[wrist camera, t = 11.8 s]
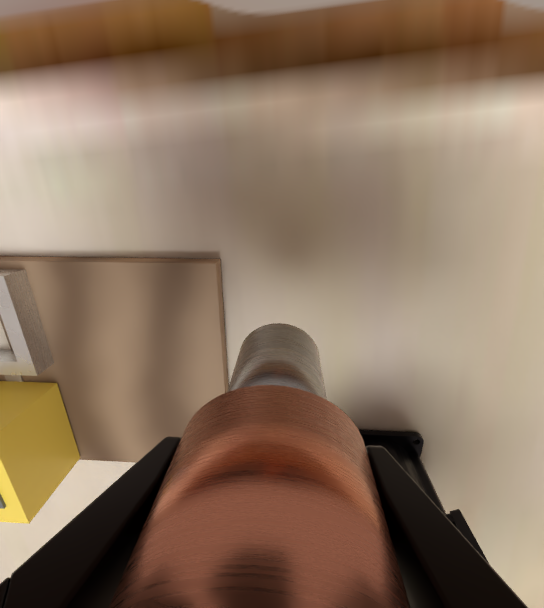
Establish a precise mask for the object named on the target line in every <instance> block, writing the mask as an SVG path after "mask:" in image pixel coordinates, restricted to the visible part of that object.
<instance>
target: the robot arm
mask: <svg viewBox="0 0 544 608" xmlns="http://www.w3.org/2000/svg"><path fill="white" fill-rule="evenodd" d="M359 432H360V434H361V436H362V438H363V441H364V444H365V448H366V451H367V455H368V458H369V462H370V465H371V469H372V472H373V476H374V479H375V483H376V487H377V490H378V494H379V497H380V501H381V504H382V508H383V511H384V515H385V519H386V522H387V526H388V529H389V533H390V536H391V540H392V543H393V547H394V550H395V554H396V558H397V561H398V565H399V568H400V572H401V575H402V579H403V582H404V586H405V590H406V593H407V597H408V600H409V604H410V607H411V608H528V607H527V606H526V605H525V604H524V603H523V602H522V601H521V599H520V598H519V597H518V596H517V595H516V594H515V593H514V592H513V590H512V589H511V588H510V587H509V586H508V585H507V584H506V583H505V582H504V580H503V579H502V578H501V577H500V576H499V575H498V574H497V573H496V572H495V570H494V569H493V568H492V567H491V566H490V565H489V563H488V561H487V559H486V557H485V555H484V554H483V552H482V550H481V548H480V546H479V544H478V543H477V541H476V539H475V537H474V535H473V534H472V532H471V530H470V528H469V526H468V524H467V523H466V521H465V519H464V517H463V515H462V513H461V512H460V510H459V509H457V510H453V511H450V513H449V514H446V513H445V510H444V508H443V506H442V504H441V502H440V500H439V498H438V495H437V493H436V491H435V489H434V487H433V485H432V483H431V481H430V478H429V476H428V474H427V472H426V470H425V468H424V466H423V463H422V461H421V459H420V455H421V451H422V447H423V443H424V440H423V438H422V436H421V435H420V434H419V433H414V432H391V431H368V430H359ZM181 438H182V437H171V436H168V437H166V438H164V439H163V440H162V441H161V442H159V443H158V444H157V445H156V446H155V447H154V448H153V449H152V450H150V451H149V452H148V453H147V454H146V455H145V456H144V457H143V458H141V459H140V460H139V461H138V462H137V463H136V464H135V465H134V466H132V467H131V468H130V469H129V470H128V471H127V472H126V473H125V474H123V475H122V476H121V477H120V478H119V479H118V480H117V481H116V482H114V483H113V484H112V485H111V486H110V487H109V488H108V489H107V490H105V491H104V492H103V493H102V494H101V495H100V496H99V497H98V498H96V499H95V500H94V501H93V502H92V503H91V504H90V505H89V506H87V507H86V508H85V509H84V510H83V511H82V512H81V513H80V514H78V515H77V516H76V517H75V518H74V519H73V520H72V521H71V522H69V523H68V524H67V525H66V526H65V527H64V528H63V529H62V530H60V531H59V532H58V533H57V534H56V535H55V536H54V537H53V538H51V539H50V540H49V541H48V542H47V543H46V544H45V545H44V546H42V547H41V548H40V549H39V550H38V551H37V552H36V553H35V554H33V555H32V556H31V557H30V558H29V559H28V560H27V561H26V562H24V563H23V564H22V565H21V566H20V567H19V568H18V569H17V570H15V571H14V572H13V573H12V575H11V578H6V579H5V580H4V581H3V582H2V583H1V584H0V608H109V605H110V603H111V601H112V598H113V596H114V594H115V591H116V589H117V587H118V584H119V582H120V580H121V578H122V575H123V573H124V571H125V568H126V566H127V564H128V561H129V559H130V557H131V554H132V552H133V550H134V547H135V545H136V543H137V540H138V538H139V536H140V533H141V531H142V529H143V526H144V524H145V522H146V519H147V517H148V515H149V512H150V510H151V508H152V505H153V503H154V501H155V498H156V496H157V494H158V491H159V489H160V487H161V484H162V482H163V480H164V477H165V475H166V473H167V470H168V468H169V466H170V463H171V461H172V459H173V456H174V454H175V452H176V449H177V447H178V445H179V442H180V440H181ZM416 439H417V440H416Z"/></svg>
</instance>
